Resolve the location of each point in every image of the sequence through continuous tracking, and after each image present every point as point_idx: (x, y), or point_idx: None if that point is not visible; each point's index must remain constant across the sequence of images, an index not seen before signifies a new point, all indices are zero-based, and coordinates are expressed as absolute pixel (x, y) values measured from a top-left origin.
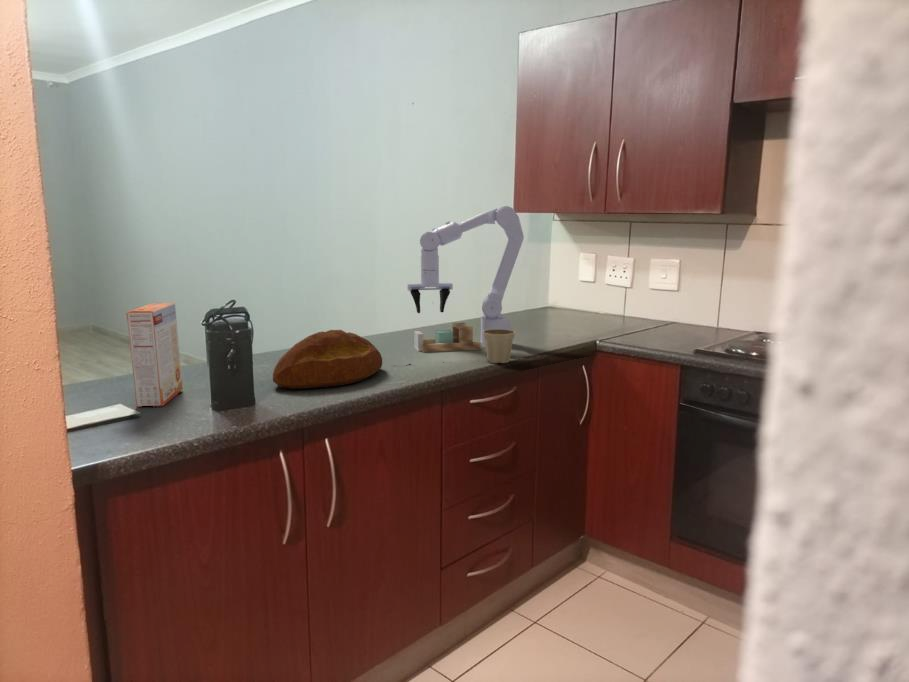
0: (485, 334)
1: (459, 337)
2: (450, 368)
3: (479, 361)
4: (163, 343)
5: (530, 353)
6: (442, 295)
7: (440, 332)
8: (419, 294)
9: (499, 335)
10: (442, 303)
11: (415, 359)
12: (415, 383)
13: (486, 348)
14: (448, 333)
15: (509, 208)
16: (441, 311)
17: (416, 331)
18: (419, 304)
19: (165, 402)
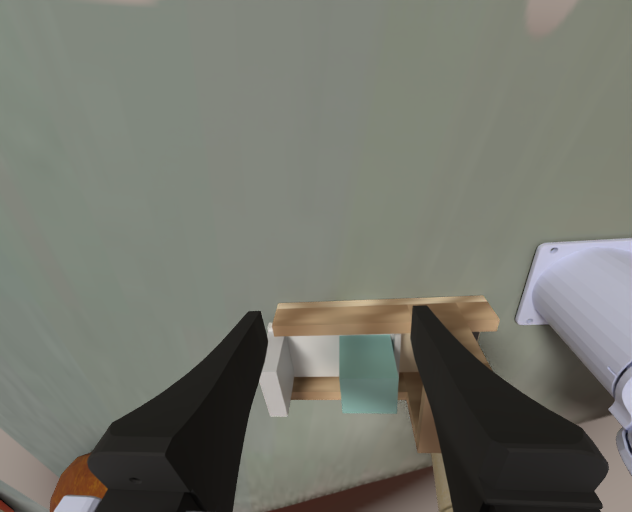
0: None
1: (410, 412)
2: (338, 467)
3: (414, 442)
4: None
5: (593, 407)
6: (450, 479)
7: (350, 412)
8: (226, 503)
9: None
10: (430, 402)
11: None
12: (272, 506)
13: (436, 483)
14: (379, 409)
15: None
16: (411, 343)
17: (265, 379)
18: (249, 399)
19: (8, 510)
